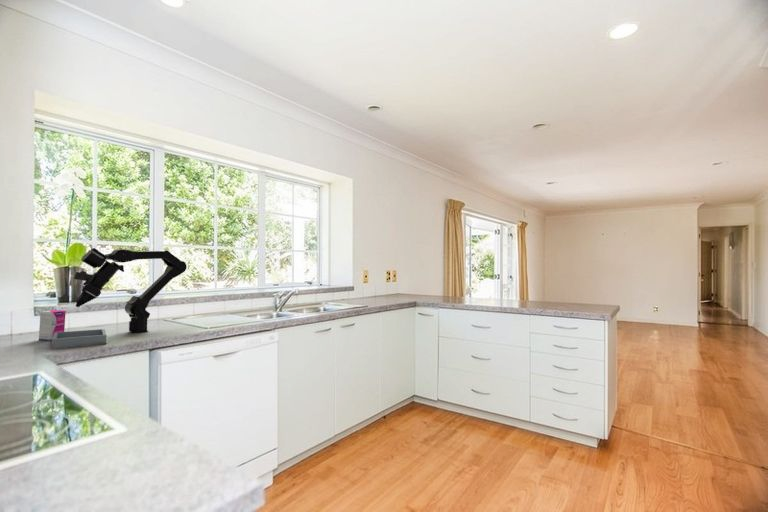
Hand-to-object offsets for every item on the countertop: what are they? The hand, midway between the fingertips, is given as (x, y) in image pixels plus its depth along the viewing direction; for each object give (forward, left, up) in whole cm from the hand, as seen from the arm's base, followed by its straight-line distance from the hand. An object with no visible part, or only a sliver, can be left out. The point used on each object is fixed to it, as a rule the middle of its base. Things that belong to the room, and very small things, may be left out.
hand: (76, 305), depth 164 cm
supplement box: (+8, +1, -14) cm, 16 cm away
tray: (-1, +14, -13) cm, 19 cm away
